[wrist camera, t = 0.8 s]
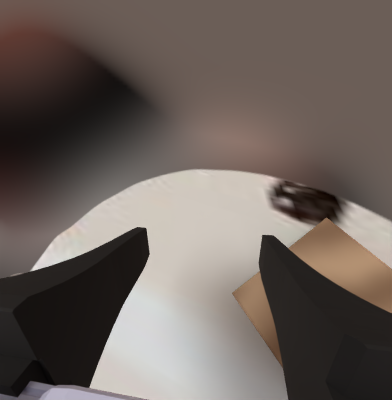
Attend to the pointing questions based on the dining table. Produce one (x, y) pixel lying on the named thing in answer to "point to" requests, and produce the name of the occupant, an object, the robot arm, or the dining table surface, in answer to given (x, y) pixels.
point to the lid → (327, 266)
